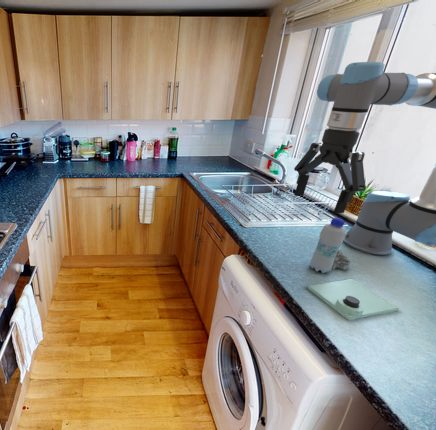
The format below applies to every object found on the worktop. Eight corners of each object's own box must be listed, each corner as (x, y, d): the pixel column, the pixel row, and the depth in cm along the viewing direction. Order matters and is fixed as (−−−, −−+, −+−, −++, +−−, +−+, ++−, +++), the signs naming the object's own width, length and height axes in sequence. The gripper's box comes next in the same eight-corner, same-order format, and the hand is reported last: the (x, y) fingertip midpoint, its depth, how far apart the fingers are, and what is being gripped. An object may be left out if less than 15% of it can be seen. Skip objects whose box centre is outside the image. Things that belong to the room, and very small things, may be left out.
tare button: (349, 299, 84) (351, 295, 83) (360, 307, 81) (362, 302, 80) (340, 301, 83) (343, 296, 82) (351, 309, 80) (353, 304, 79)
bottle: (333, 270, 101) (354, 220, 93) (326, 277, 98) (347, 225, 89) (312, 261, 106) (330, 212, 98) (304, 268, 102) (323, 217, 94)
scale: (351, 281, 96) (355, 274, 95) (397, 311, 83) (402, 303, 82) (307, 288, 92) (310, 281, 91) (348, 320, 80) (352, 312, 78)
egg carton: (314, 253, 112) (317, 244, 110) (336, 255, 110) (339, 246, 109) (326, 268, 102) (330, 258, 101) (350, 271, 101) (354, 261, 99)
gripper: (293, 122, 85) (275, 189, 94) (382, 137, 63) (347, 223, 72) (314, 122, 87) (294, 188, 96) (407, 136, 65) (370, 220, 74)
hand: (317, 203), depth 84 cm, fingers open, 13 cm apart
